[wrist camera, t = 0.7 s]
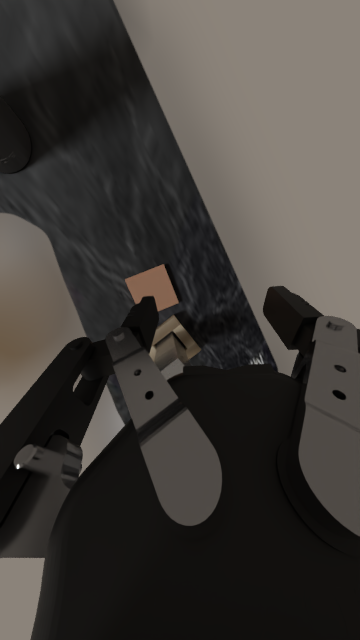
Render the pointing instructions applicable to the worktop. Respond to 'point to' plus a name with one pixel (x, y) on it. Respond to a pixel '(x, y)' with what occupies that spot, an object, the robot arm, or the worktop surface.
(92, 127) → the worktop surface
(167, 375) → the grey tapered block
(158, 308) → the tile
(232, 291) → the worktop surface
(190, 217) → the worktop surface
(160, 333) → the socket block
